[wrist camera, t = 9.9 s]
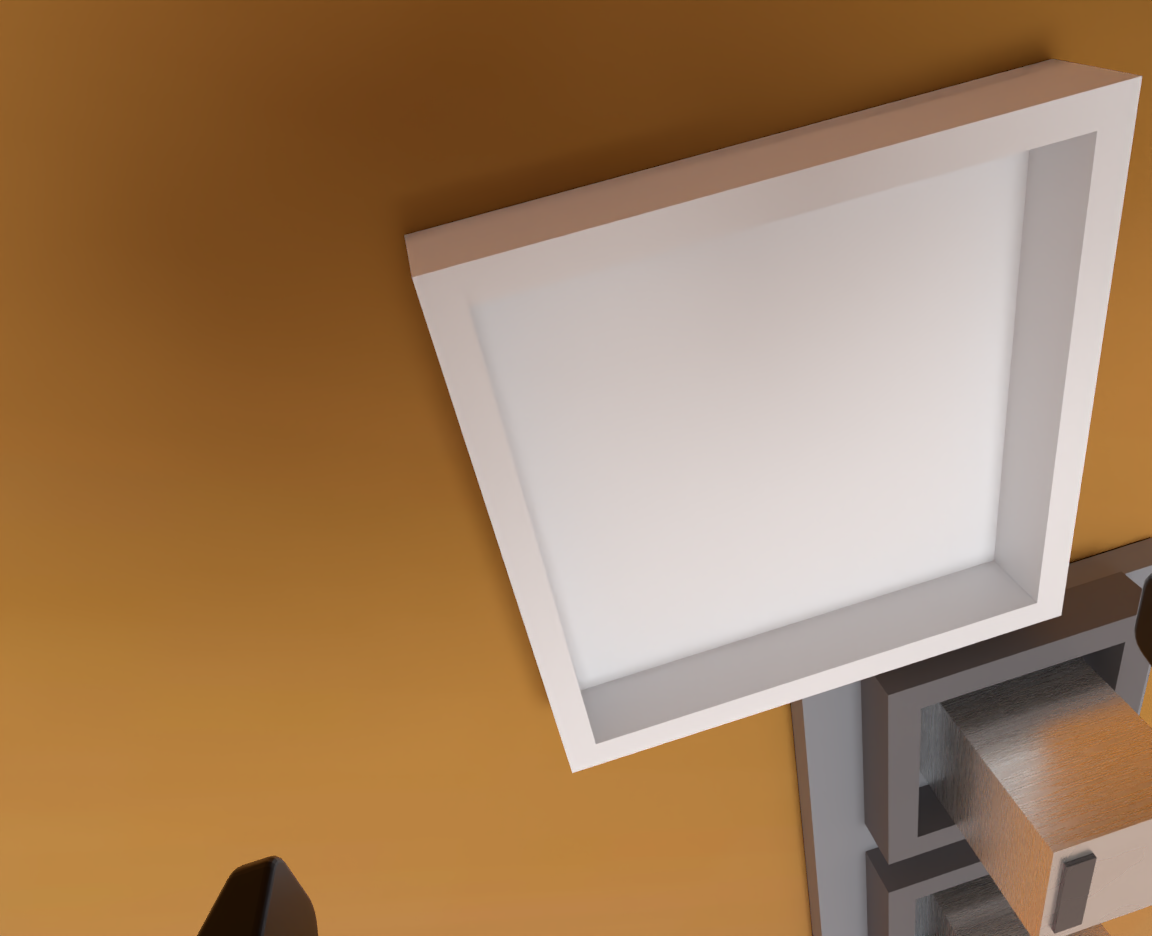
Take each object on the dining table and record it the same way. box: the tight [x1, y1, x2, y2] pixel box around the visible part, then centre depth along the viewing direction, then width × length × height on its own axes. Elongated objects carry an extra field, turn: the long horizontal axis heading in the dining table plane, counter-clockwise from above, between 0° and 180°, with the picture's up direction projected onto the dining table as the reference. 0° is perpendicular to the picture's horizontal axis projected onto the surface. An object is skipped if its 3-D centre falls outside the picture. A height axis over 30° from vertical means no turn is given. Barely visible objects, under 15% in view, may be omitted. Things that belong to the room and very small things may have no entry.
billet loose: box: [920, 657, 1152, 936], centre depth 25 cm, size 4×4×6 cm
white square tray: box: [404, 59, 1142, 773], centre depth 21 cm, size 14×14×2 cm
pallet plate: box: [791, 538, 1152, 936], centre depth 31 cm, size 12×18×3 cm, turn 12°
